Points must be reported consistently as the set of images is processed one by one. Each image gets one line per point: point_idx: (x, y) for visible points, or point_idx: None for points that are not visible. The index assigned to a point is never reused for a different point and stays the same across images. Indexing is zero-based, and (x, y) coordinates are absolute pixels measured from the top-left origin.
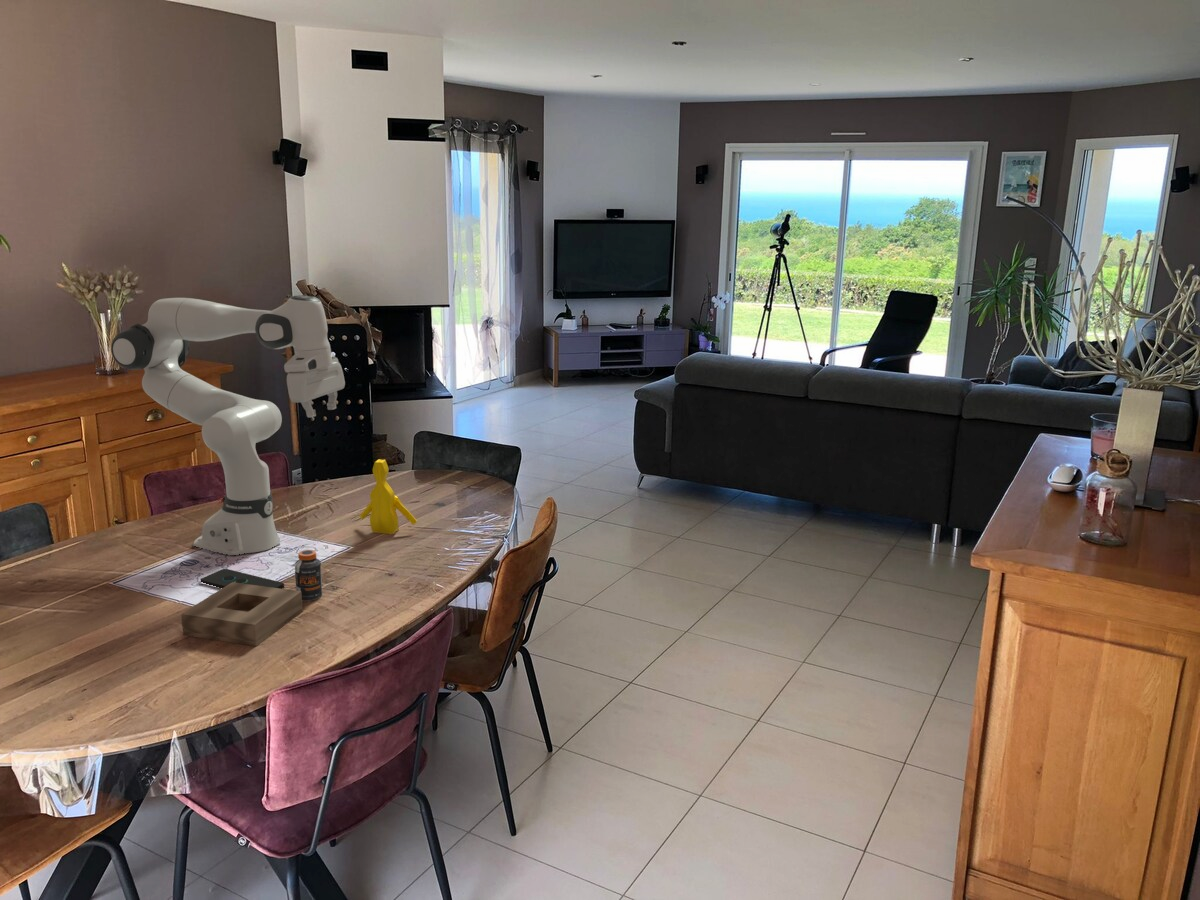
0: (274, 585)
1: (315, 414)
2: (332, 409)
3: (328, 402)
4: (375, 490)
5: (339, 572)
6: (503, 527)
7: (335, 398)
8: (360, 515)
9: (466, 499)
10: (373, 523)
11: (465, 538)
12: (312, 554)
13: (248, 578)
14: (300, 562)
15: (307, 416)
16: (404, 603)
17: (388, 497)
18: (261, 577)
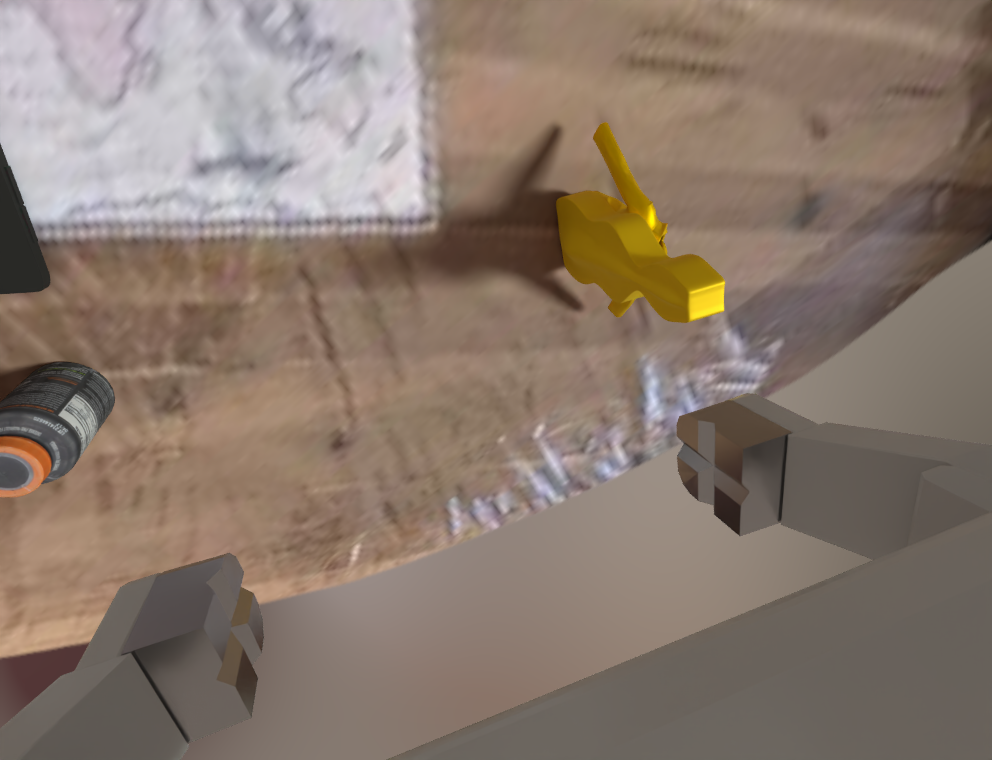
0: (2, 276)
1: (249, 650)
2: (679, 472)
3: (789, 435)
4: (620, 251)
5: (261, 335)
6: None
7: (861, 545)
8: (601, 129)
9: (851, 247)
10: (566, 210)
11: (610, 419)
12: (10, 496)
13: None
14: None
15: (129, 591)
16: None
17: (613, 293)
18: (4, 181)
